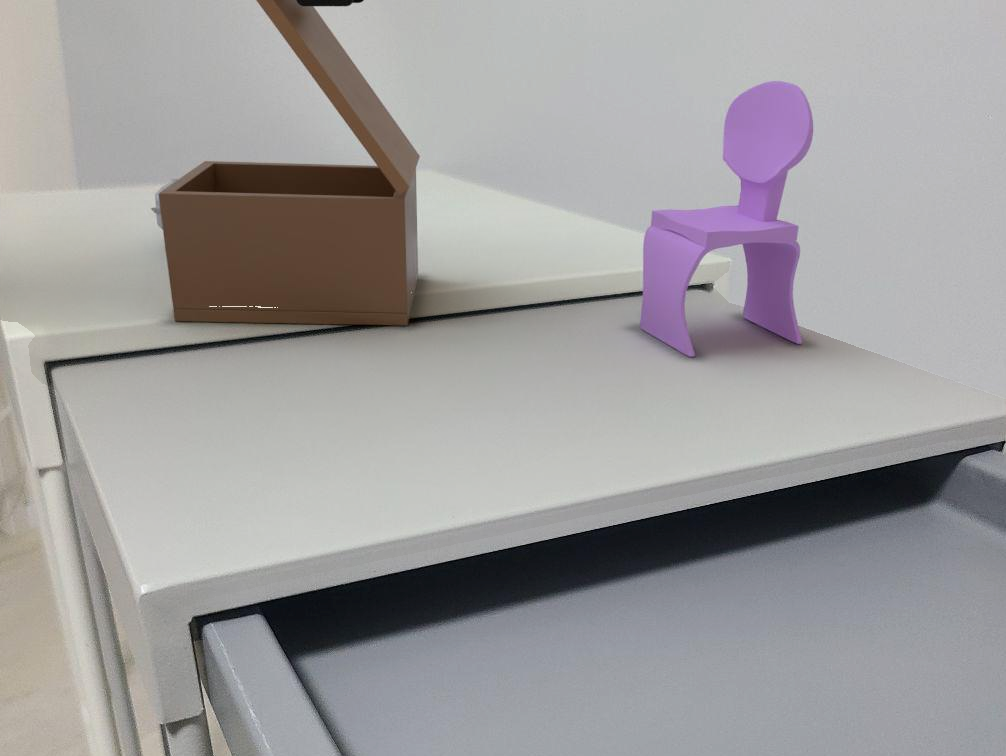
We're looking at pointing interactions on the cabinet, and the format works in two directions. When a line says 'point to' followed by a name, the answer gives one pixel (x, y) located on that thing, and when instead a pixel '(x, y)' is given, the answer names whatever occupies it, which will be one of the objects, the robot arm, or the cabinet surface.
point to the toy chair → (736, 220)
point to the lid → (345, 89)
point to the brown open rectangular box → (290, 244)
